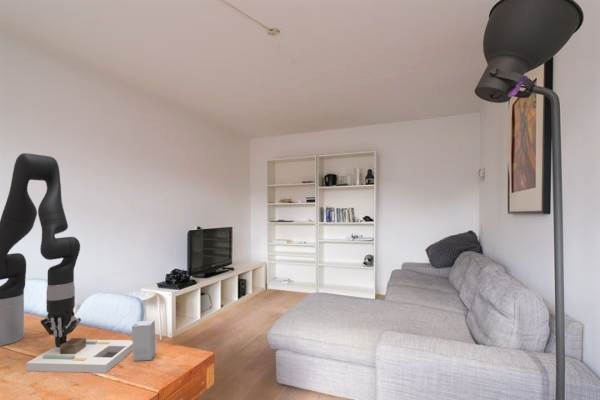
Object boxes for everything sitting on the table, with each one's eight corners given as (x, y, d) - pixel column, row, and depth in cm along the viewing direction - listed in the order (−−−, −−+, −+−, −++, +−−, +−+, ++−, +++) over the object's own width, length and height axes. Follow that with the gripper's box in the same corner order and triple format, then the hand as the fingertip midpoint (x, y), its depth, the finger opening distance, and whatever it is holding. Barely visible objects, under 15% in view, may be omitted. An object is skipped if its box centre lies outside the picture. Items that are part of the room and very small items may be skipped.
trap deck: (26, 370, 93) (26, 360, 93) (68, 346, 109) (68, 337, 109) (105, 372, 92) (105, 362, 92) (136, 347, 108) (136, 338, 108)
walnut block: (60, 354, 99) (60, 345, 99) (71, 346, 104) (71, 338, 104) (75, 354, 99) (75, 345, 99) (85, 346, 104) (85, 338, 104)
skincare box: (156, 354, 103) (156, 319, 103) (151, 361, 99) (150, 324, 99) (137, 355, 103) (137, 320, 103) (131, 362, 98) (131, 325, 98)
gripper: (32, 299, 98) (32, 351, 98) (70, 299, 97) (70, 352, 97) (52, 292, 105) (52, 340, 105) (87, 292, 104) (87, 341, 104)
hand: (60, 346), depth 101 cm, fingers closed
